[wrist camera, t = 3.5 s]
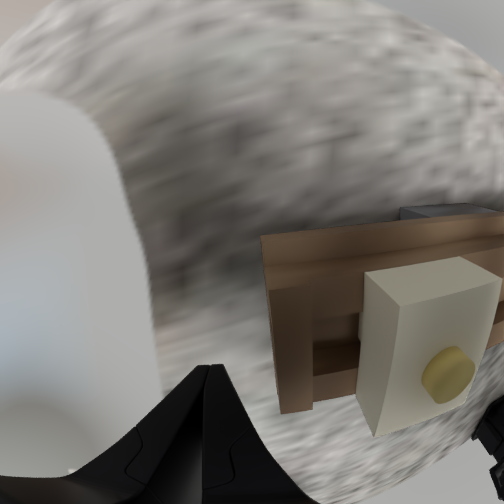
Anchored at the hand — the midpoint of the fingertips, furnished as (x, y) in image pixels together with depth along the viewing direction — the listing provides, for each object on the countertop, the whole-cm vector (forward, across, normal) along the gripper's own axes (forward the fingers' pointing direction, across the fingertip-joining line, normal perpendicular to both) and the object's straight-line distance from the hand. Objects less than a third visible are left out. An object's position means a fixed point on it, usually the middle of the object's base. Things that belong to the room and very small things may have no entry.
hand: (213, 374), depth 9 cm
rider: (+2, -7, 0) cm, 7 cm away
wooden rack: (+6, -12, 0) cm, 14 cm away
